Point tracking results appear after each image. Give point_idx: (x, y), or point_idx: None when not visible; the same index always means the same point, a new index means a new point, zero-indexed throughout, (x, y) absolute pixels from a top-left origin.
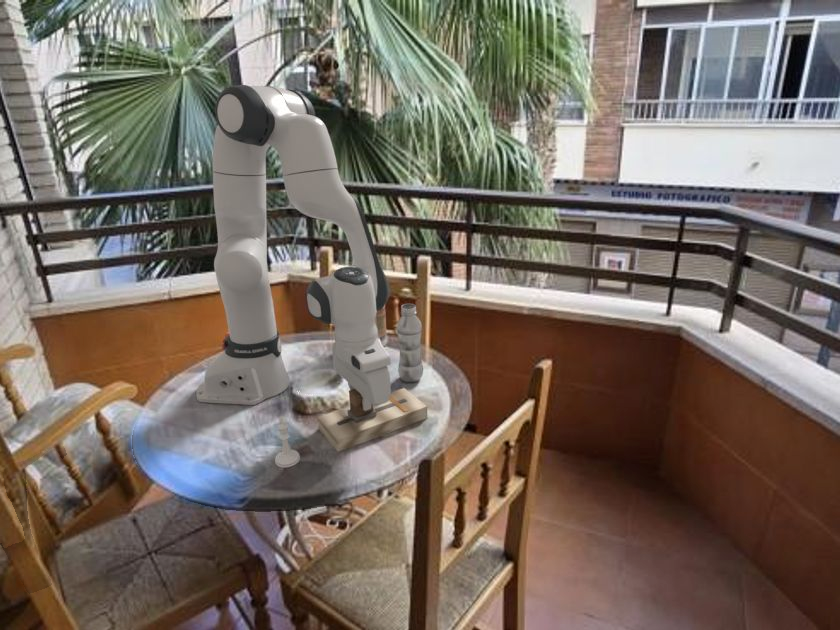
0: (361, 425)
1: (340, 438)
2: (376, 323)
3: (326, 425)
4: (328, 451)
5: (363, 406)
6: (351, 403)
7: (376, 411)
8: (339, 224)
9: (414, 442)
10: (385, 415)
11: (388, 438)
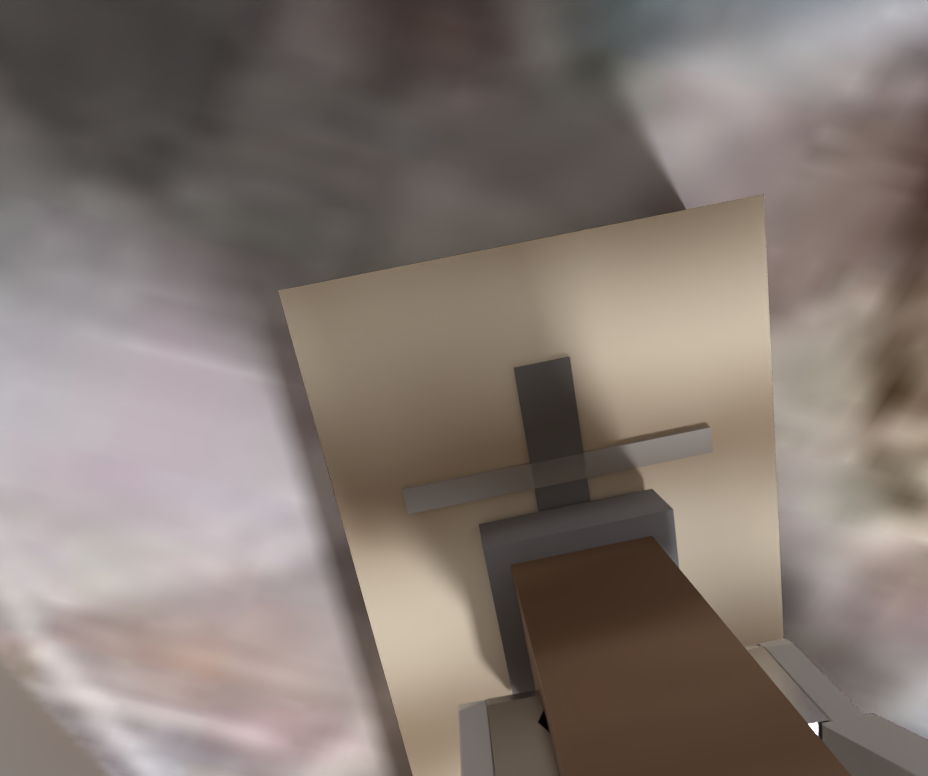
0: (426, 555)
1: (289, 329)
2: None
3: (570, 249)
4: (351, 215)
5: (462, 753)
6: (661, 617)
7: None
8: None
9: (247, 768)
10: None
11: (349, 646)
